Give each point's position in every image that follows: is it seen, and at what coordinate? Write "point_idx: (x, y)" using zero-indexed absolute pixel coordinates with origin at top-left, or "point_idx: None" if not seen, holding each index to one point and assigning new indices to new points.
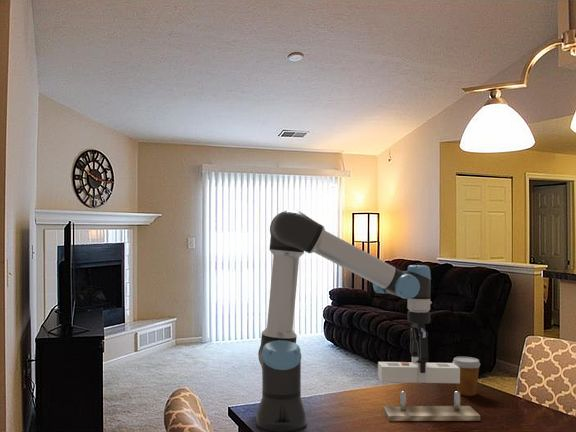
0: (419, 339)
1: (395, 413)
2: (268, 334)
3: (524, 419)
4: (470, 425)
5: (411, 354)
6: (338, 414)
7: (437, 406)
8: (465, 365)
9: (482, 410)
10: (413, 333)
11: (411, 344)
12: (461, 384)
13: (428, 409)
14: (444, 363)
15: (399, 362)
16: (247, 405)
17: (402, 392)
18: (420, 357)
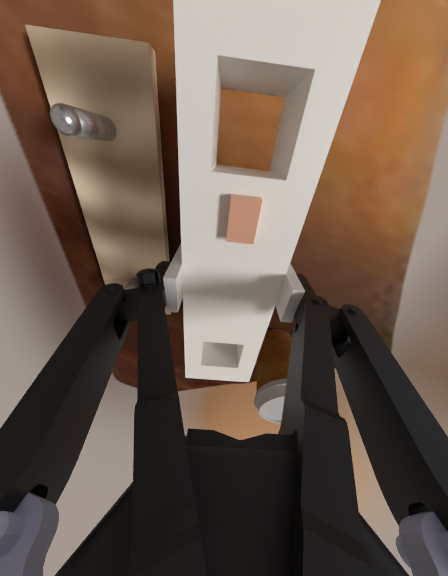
0: (37, 444)
1: (66, 77)
2: None
3: (137, 355)
4: (84, 278)
5: (314, 299)
6: None
7: (161, 253)
8: (261, 393)
9: (175, 326)
10: (299, 498)
11: (361, 351)
12: (267, 346)
13: (134, 221)
14: (246, 365)
15: (301, 202)
16: None
17: (51, 112)
18: (103, 300)
